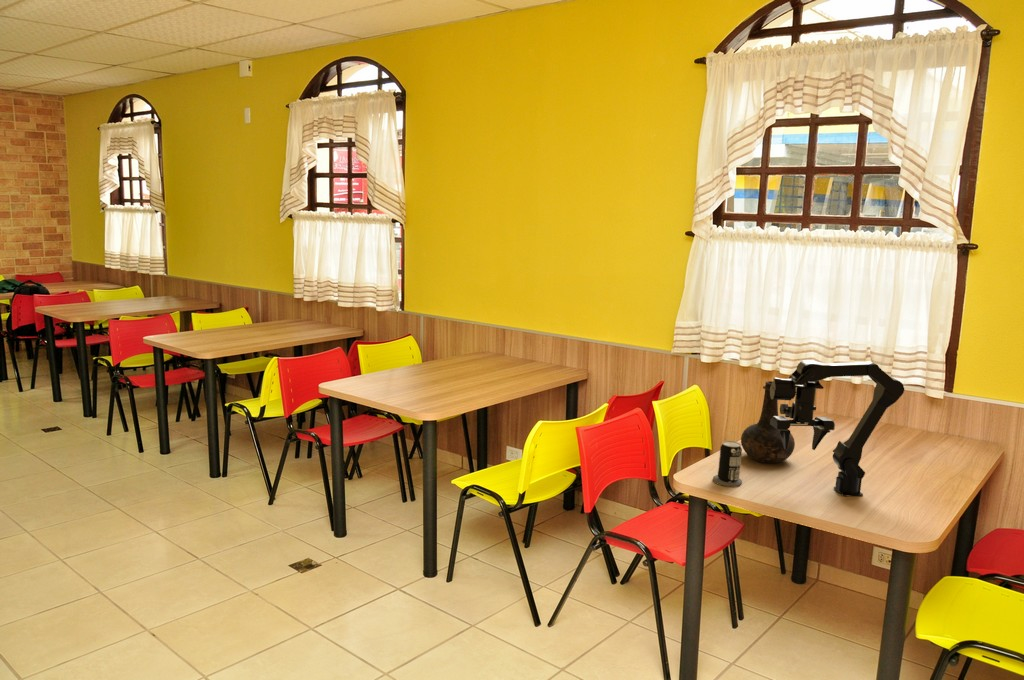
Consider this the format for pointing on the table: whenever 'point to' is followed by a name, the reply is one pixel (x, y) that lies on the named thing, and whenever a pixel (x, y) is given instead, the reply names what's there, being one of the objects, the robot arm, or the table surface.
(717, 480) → the coaster
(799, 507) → the table surface
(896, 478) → the table surface
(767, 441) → the brown vase
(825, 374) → the robot arm
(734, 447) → the beverage can
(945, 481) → the table surface
